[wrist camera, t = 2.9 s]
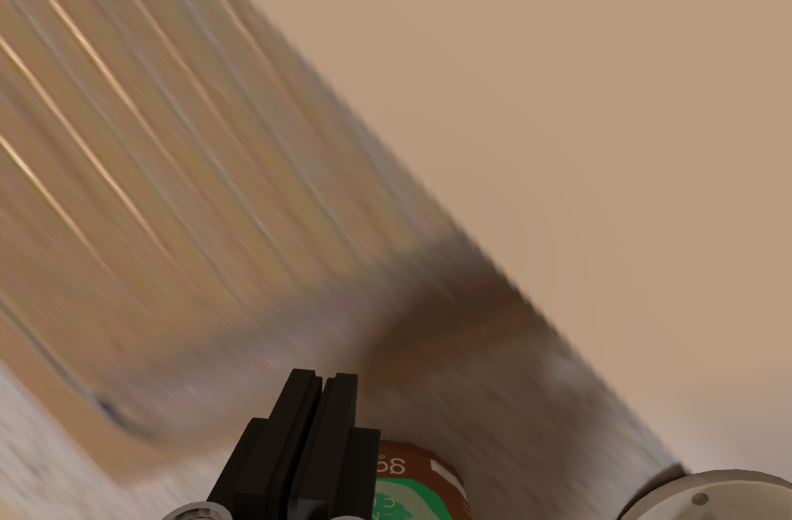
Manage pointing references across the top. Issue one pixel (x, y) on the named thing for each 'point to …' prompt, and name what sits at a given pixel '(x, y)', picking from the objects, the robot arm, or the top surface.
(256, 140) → the top surface
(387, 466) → the food container
